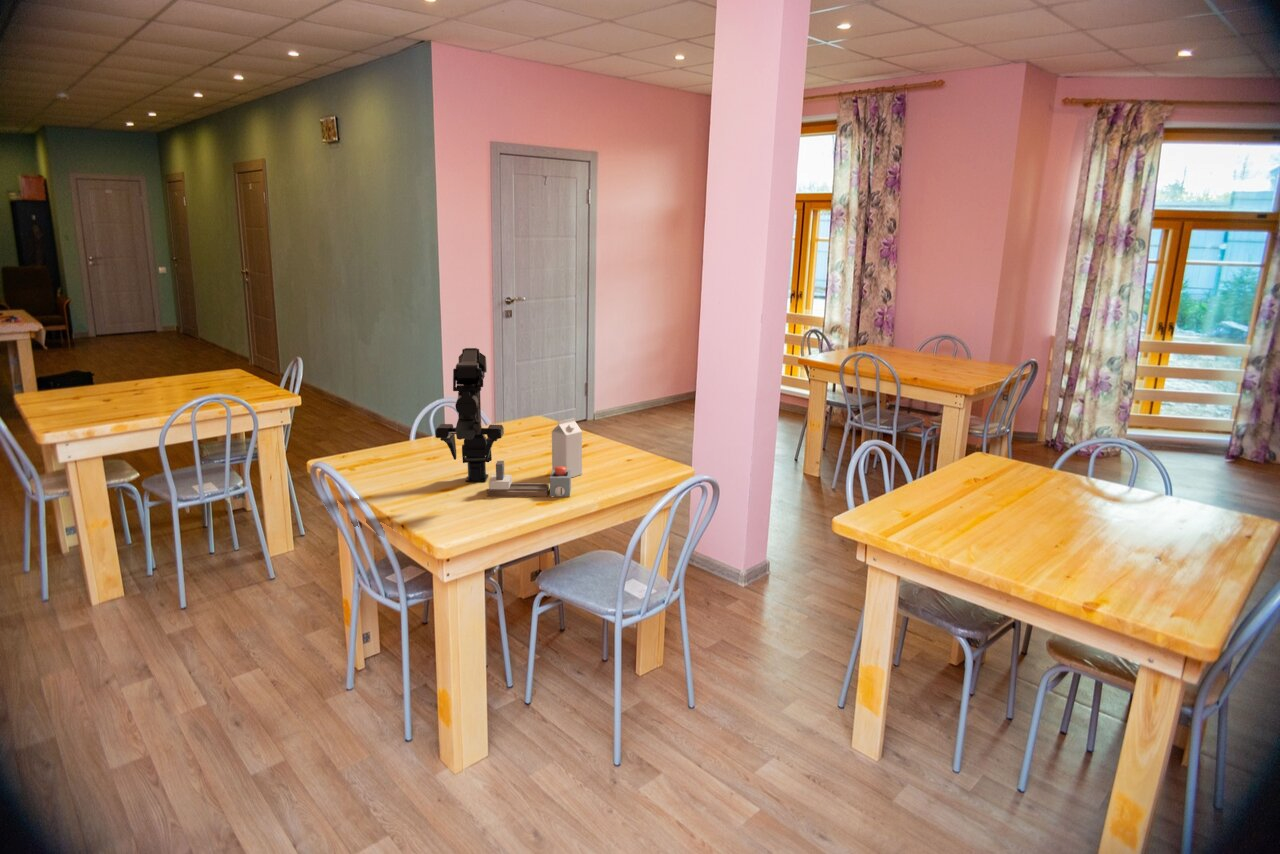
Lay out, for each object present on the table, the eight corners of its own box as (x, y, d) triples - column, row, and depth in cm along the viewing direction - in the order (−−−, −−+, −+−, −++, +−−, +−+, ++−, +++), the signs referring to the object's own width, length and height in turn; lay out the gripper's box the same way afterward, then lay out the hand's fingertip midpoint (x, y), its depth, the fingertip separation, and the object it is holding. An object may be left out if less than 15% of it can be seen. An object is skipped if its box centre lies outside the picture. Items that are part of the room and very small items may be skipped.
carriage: (492, 481, 238) (491, 459, 236) (511, 481, 238) (511, 459, 236) (489, 489, 231) (488, 465, 229) (508, 489, 232) (508, 465, 230)
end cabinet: (552, 488, 240) (551, 470, 238) (571, 488, 240) (570, 470, 239) (549, 497, 232) (549, 478, 230) (569, 497, 232) (569, 478, 230)
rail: (491, 488, 239) (491, 481, 239) (548, 488, 240) (548, 481, 239) (487, 496, 231) (487, 489, 231) (546, 496, 232) (546, 490, 231)
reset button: (555, 475, 236) (555, 466, 236) (566, 475, 237) (566, 466, 236) (554, 478, 233) (554, 469, 232) (566, 478, 233) (565, 469, 232)
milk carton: (552, 474, 253) (551, 419, 249) (568, 470, 258) (567, 415, 254) (566, 479, 249) (565, 423, 244) (582, 474, 254) (582, 419, 249)
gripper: (429, 414, 209) (432, 468, 214) (497, 415, 210) (498, 468, 214) (438, 404, 220) (441, 456, 224) (503, 405, 221) (504, 456, 225)
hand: (471, 459), depth 222 cm, fingers open, 9 cm apart
